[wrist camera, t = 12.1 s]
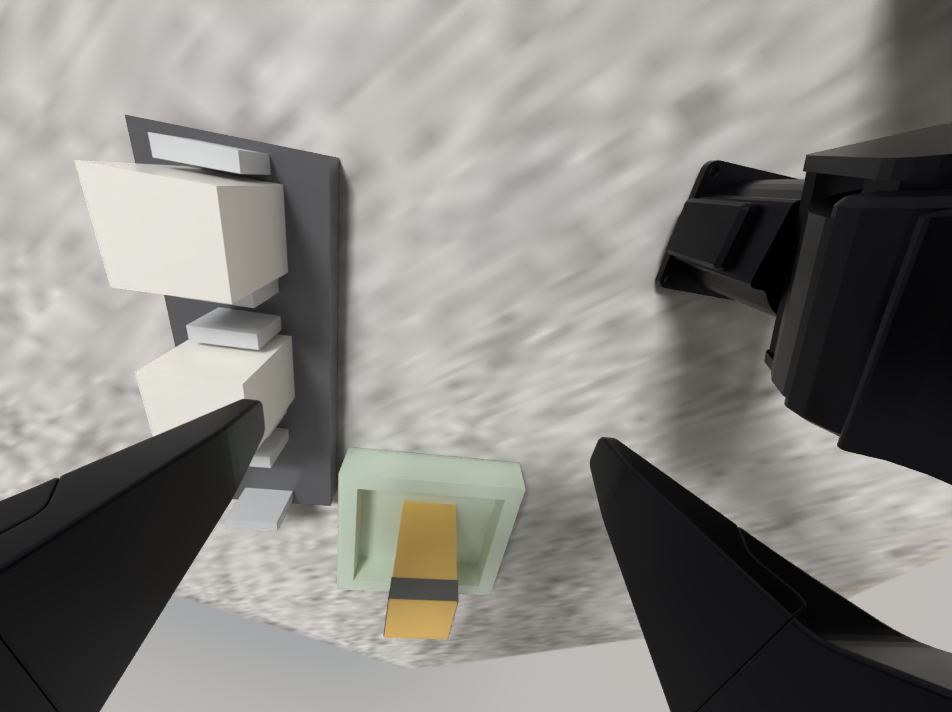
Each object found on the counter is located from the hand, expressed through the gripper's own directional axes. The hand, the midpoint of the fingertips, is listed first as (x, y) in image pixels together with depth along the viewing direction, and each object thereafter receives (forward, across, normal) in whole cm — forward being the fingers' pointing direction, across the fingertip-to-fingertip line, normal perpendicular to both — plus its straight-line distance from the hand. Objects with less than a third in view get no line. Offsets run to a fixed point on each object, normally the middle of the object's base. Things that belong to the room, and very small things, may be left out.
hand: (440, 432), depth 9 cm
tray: (+12, -1, +18) cm, 22 cm away
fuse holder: (+12, +10, +5) cm, 16 cm away
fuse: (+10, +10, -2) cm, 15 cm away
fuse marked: (+11, -1, +18) cm, 21 cm away
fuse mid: (+10, +10, +5) cm, 15 cm away
